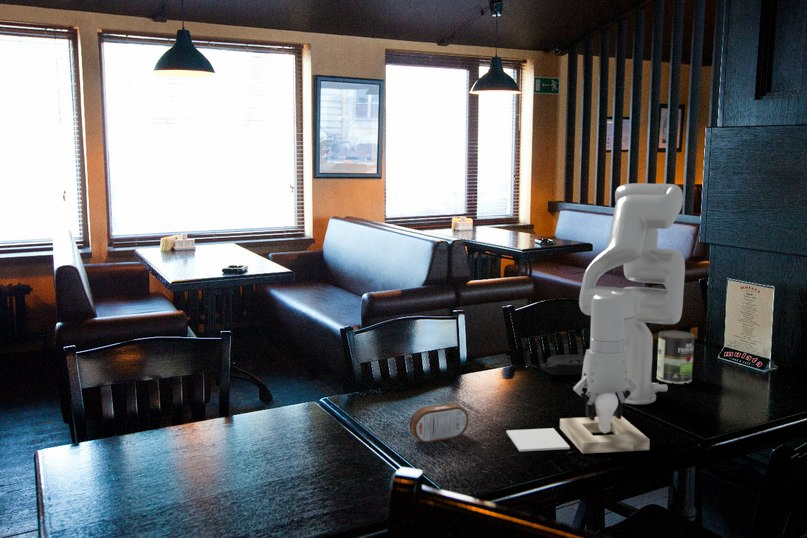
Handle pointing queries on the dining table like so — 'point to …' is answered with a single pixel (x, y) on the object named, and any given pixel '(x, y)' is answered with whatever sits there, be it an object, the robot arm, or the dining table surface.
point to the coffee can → (675, 357)
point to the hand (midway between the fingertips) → (604, 417)
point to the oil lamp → (564, 364)
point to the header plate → (621, 441)
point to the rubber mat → (537, 439)
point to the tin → (439, 422)
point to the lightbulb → (605, 409)
